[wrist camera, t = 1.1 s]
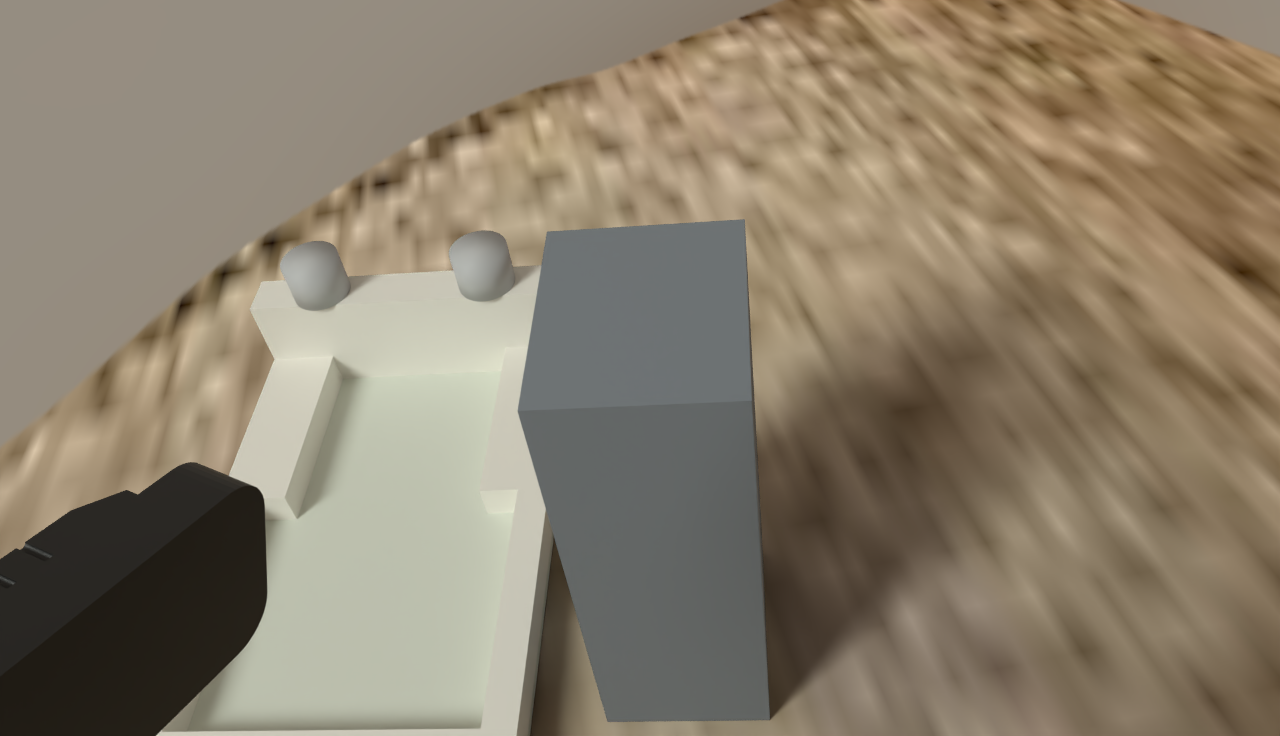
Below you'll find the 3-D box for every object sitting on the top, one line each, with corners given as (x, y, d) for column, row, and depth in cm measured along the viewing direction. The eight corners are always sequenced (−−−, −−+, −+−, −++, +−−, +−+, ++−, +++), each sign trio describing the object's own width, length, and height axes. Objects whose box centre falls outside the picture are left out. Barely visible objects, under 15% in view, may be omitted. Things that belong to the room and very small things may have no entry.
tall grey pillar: (769, 720, 29) (751, 400, 20) (607, 721, 30) (517, 411, 21) (762, 552, 33) (744, 219, 24) (619, 556, 34) (547, 231, 24)
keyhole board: (523, 789, 29) (478, 690, 25) (138, 790, 30) (37, 696, 26) (577, 340, 41) (552, 226, 37) (300, 354, 42) (248, 245, 38)
